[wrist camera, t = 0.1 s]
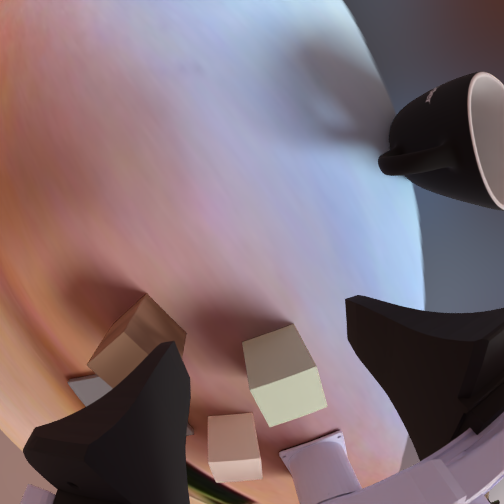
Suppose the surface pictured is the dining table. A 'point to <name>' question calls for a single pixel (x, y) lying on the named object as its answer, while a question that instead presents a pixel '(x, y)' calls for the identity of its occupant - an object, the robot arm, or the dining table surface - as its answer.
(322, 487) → the robot arm
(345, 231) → the dining table surface
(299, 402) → the green block
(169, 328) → the walnut block
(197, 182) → the dining table surface
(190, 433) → the coaster
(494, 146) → the mug
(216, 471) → the cream block
